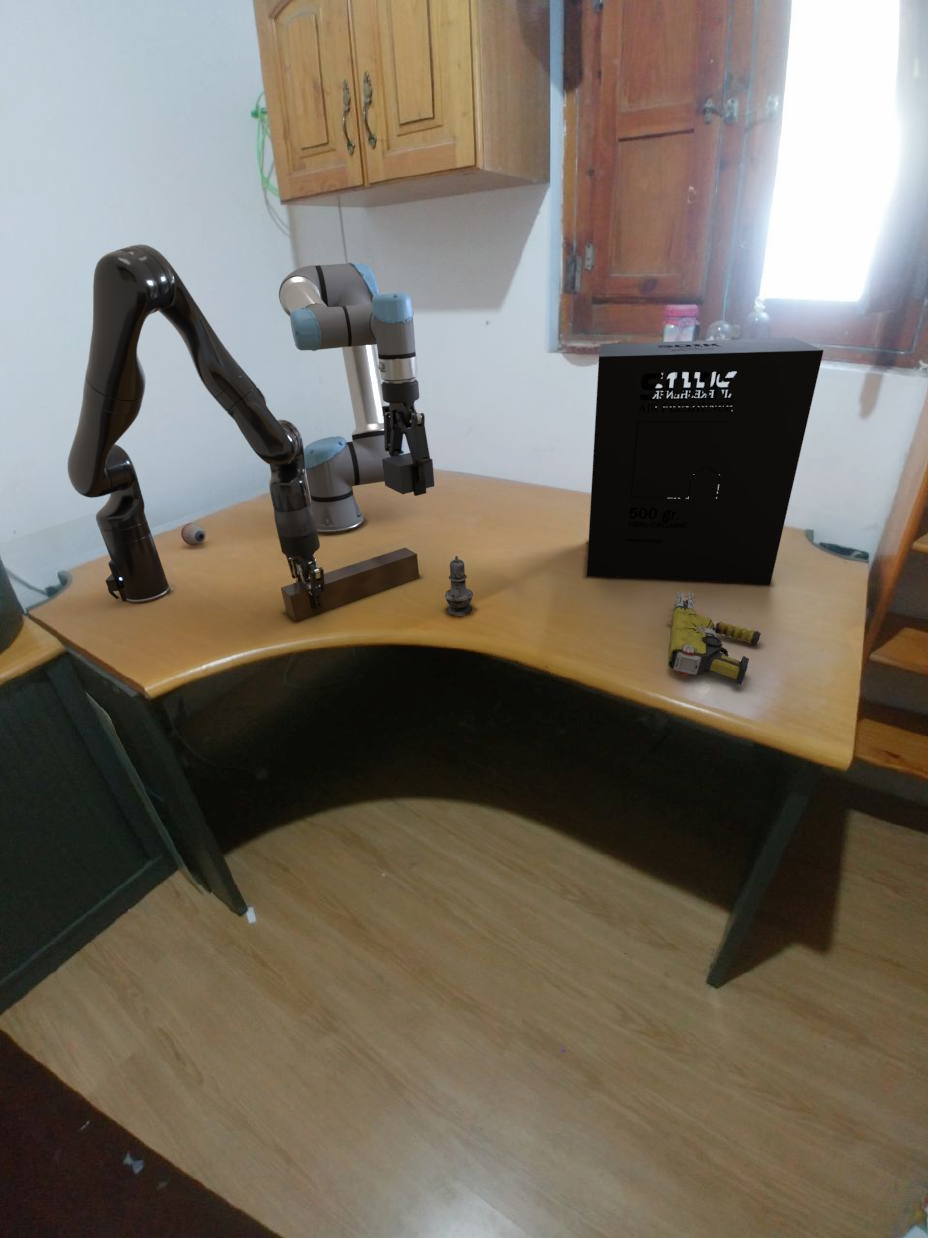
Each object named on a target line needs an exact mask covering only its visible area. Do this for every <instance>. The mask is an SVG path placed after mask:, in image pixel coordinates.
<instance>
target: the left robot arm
mask: <svg viewBox="0 0 928 1238" xmlns="http://www.w3.org/2000/svg"><path fill="white" fill-rule="evenodd" d="M157 312H158V313H160V314H161V315H162V316H163V317H164V318H165V319H166V320H167V321H168V322H169V323H170V324H171V325H172V327H173V328H174V329H175V330H176V331H177V333H178V334H179V336H180V337H181V339H182V342H183V343H184V345H185V348H186V349H187V351H188V354H189V356H190V358H191V361H192V364H193V366H194V368H195V371H196V373H197V375H198V378H199V380H200V381H201V383H202V385H203V386H204V388H205V389H206V391H207V392H208V393H209V394H210V395H211V397H212V398H213V399H214V400H215V401H216V402H217V404H218V405H220V407H221V408H222V409H223V411H225V412H226V413H227V414H228V416H229V417H230V418H231V419H232V420H233V421H234V423H235V424H236V426H237V427H238V429H239V431H240V432H241V434H242V435H243V438H244V439H245V440H246V442H247V443H248V445H249V446H250V447H251V449H252V451H254V453H255V454H256V455H257V456H258V457H259V458H260V459H261V460H262V461H263V462H264V463H266V464H268V465H269V470H270V479H269V484H268V485H269V486H268V487H269V494H270V498H271V499H270V500H271V503H272V507H273V515H274V522H275V527H276V532H277V536H278V541H279V545H280V551H281V553H282V554H283V555H285V557H286V561H287V564H288V567H289V570H290V574H291V578H292V579H293V580H295V583H296V582H300V581H302V582H303V584H305V585H306V586H307V589H308V593H309V596H310V601H311V606H312V609H313V610H314V611H316V610H319V609H322V608H323V603H322V597H321V593H324V592H325V583H324V573H325V572H324V571H325V570H324V568H323V567H318V562H317V559H316V557H315V556H314V555H315V553H316V552H317V551H318V550H320V548H321V543H320V537H319V534H318V532H317V526H316V521H315V516H314V512H313V509H312V506H311V498H310V492H309V486H308V481H307V475H306V469H305V458H304V448H305V447H304V442H303V438H302V434H301V432H300V430H299V429H298V428H297V426H296V425H295V424H294V423H293V422H292V421H289V420H286V419H277V418H276V416H275V415H274V414H273V413H272V412H271V410H270V409H269V408H268V404H267V398H266V396H265V395H264V393H263V391H261V389H260V388H259V387H258V385H257V384H256V383H255V382H254V380H252V379H251V377H250V376H249V374H247V372H245V370H244V369H243V368H242V366H241V365H240V364H239V363H238V362H237V360H235V358H234V357H233V355H232V354H231V353H230V352H229V350H228V349H227V348H226V347H225V344H224V343H222V341H221V339H220V338H219V337H218V335H217V333H216V332H215V330H214V329H213V327H212V326H211V324H210V322H209V321H208V319H207V318H206V316H205V315H204V313H203V311H202V309H200V307H199V305H198V304H197V302H196V301H195V299H194V298H193V296H192V294H191V293H190V292H189V290H188V288H187V287H186V285H185V283H184V282H183V280H182V278H181V277H180V275H179V274H178V273H177V271H176V270H175V268H174V267H173V266H172V263H170V262H169V260H168V259H167V258H166V257H165V256H164V255H163V254H162V253H161V252H160V251H159V250H157V249H156V248H154V247H153V246H150V245H149V244H148V245H147V244H143V243H142V244H141V243H140V244H139V243H138V244H133V245H129V246H125V247H123V248H120V249H116V250H112V251H110V252H108V253H106V254H104V255H103V256H101V258H100V259H99V260H98V261H97V262H96V266H95V267H94V274H93V284H92V328H91V337H90V343H89V352H88V361H87V366H86V369H85V376H84V383H83V391H82V401H81V407H80V412H79V418H78V423H77V427H76V431H75V435H74V438H73V441H72V444H71V447H70V451H69V454H68V458H67V475H68V478H69V479H68V480H69V481H70V484H71V486H72V487H73V489H74V490H75V492H76V493H78V494H79V495H81V496H83V497H85V498H91V499H93V498H102V497H104V496H108V495H109V497H108V500H107V501H106V502H105V504H104V505H103V506H102V507H101V508H100V509H99V510H98V511H97V512H96V514H95V521H96V524H97V527H98V528H99V532H100V534H101V537H102V540H103V542H104V545H105V547H106V551H107V553H108V555H109V558H110V560H109V561H108V562H107V564H108V567H109V570H110V575H109V576H108V577H107V578H106V579H105V583H106V586H107V592H108V593H109V594H110V595H111V597H113V598H114V599H115V600H118V599H121V602H123V603H126V602H127V603H131V604H143V603H144V604H145V603H149V602H153V601H156V600H158V599H159V600H160V599H161V598H163V597H164V596H166V595H167V594H169V592H170V591H171V587H170V584H169V582H168V578H167V577H166V573H165V570H164V568H163V564H162V561H161V557H160V555H159V552H158V550H157V549H158V548H157V546H156V544H155V540H154V538H153V534H152V532H151V529H150V525H149V523H148V522H149V521H148V519H147V516H146V513H145V500H144V496H143V493H142V491H141V489H142V488H141V486H140V482H139V478H138V475H137V472H136V468H135V465H134V463H133V461H132V459H131V457H130V455H129V453H128V452H127V451H126V450H125V449H124V448H123V447H122V446H120V445H118V444H116V443H117V442H118V441H119V440H120V439H121V438H122V437H123V435H125V433H126V432H127V431H128V430H129V429H130V427H131V426H132V425H133V424H134V422H135V421H136V419H137V418H138V417H139V414H140V411H141V410H142V409H141V408H142V405H143V400H144V396H145V391H146V386H147V385H146V384H147V383H146V382H147V380H146V373H145V371H144V367H143V364H142V363H141V360H140V358H139V355H138V346H139V341H140V337H141V333H142V330H143V327H144V325H145V324H144V323H145V321H146V319H147V318H148V317H149V316H151V315H152V314H156V313H157ZM309 578H310V579H309ZM307 579H308V580H307ZM310 584H311V585H310ZM316 586H317V587H316ZM115 592H118V594H119V596H120V597H119V596H118V595H117V594H116V593H115Z"/></svg>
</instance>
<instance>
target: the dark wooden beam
mask: <svg viewBox="0 0 928 1238" xmlns="http://www.w3.org/2000/svg"><path fill="white" fill-rule="evenodd" d="M419 572H420V571H419V562H418V553H416V552H415V551H413V550H411V549H409V548H407V547H402V548H399V549H396V550H393V551H390V552H387V553H384V554H381V555H378V556H374V557H372V558H368V559H365V560H362V561H359V562H356V563H353V564H350V565H346V566H343V567H340V568H336V569H333V570H331V571H328V572H324V583H325V592H324V593H321V597H322V603H323V608H322V609H319V610H316V611H314V610H313V609H312V606H311V601H310V596H309V593H308V589H307V586H306V585H305V584H303V582H302V581H300V582H296V581H295V582H293V583H291V584H288V585H284V586H281V587H280V591H281V596H282V600H283V605H284V608H285V613H286V614H287V615H288V617H290V618H291V619H292V620H293V621H294V622H295V623H296V622H299V621H302V620H305V619H308V618H310V617H314V616H315V615H319V614H323V613H324V612H327V611H330V610H334V609H336V608H339V607H341V606H344V605H348V604H350V603H352V602H355V601H358V600H362V599H364V598H366V597H368V596H369V597H370V596H372V595H375V594H378V593H382V592H384V591H386V590H389V589H392V588H395V587H397V586H401V585H403V584H406V583H408V582H411V581H414V580H418V579H419V578H420V573H419ZM309 579H310V577H309ZM307 580H308V579H307ZM310 585H311V584H310ZM316 587H317V586H316Z"/></svg>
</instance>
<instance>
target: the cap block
mask: <svg viewBox="0 0 928 1238" xmlns="http://www.w3.org/2000/svg"><path fill="white" fill-rule="evenodd" d="M382 463H383V472H384V480H385V482H384V486H385V487H387V488H389V489H391V490H393V491H395V492H397V493H399V494H401V495H406V494H410V493H414V490H413V479H412V468H411V465H410V464H413V461H412V457H411V454H410V452H408V453H404V454H402V455H398V456H393V457H389V458H384V459H382ZM424 468H425V482H426V489H430V488H433V487H435V475H434V473H435V472H434V461H433V458H431V457H430V462H429V463H426V464H425V465H424Z"/></svg>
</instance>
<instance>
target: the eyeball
mask: <svg viewBox="0 0 928 1238" xmlns="http://www.w3.org/2000/svg"><path fill="white" fill-rule="evenodd" d="M180 536H181V539H182V540H183V542H184V543H185V544H187V545H188V546H191V547H195V546H200V545H201V544H203V543H204V541H206V537H207V533H206V530H205V528H204V527H203V526H202V525H201V524H198V523H197V522H189V523H187V524H185V525H184V526H183V527H182V528H181V532H180Z"/></svg>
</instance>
